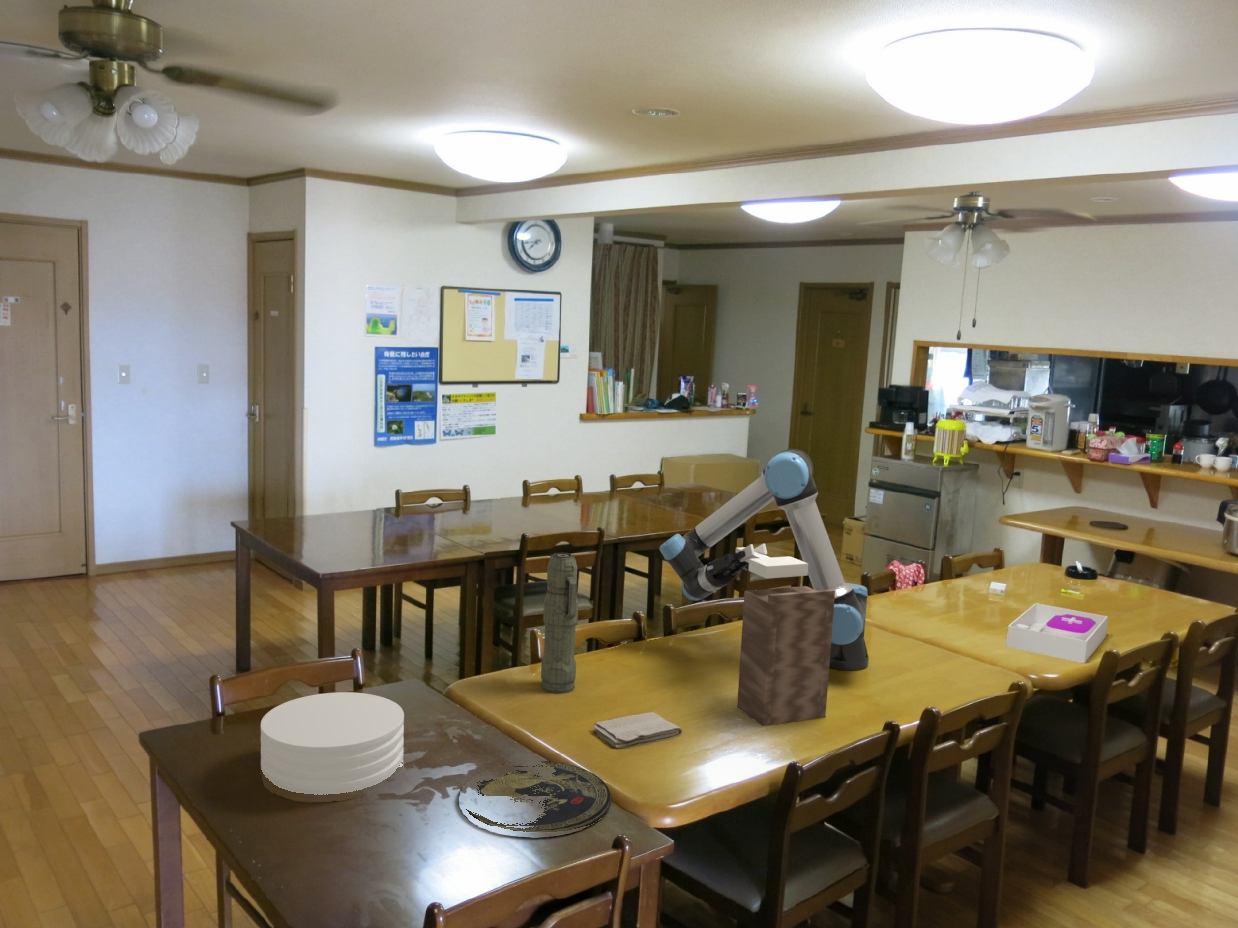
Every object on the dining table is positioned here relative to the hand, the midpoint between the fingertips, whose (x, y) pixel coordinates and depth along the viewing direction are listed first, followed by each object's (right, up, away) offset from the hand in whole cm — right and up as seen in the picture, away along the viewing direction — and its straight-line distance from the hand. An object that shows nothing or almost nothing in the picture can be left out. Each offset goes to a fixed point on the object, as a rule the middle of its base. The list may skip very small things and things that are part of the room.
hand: (758, 549), depth 249 cm
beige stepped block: (+1, -4, -2) cm, 5 cm away
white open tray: (+104, -35, +61) cm, 126 cm away
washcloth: (-32, -41, -24) cm, 57 cm away
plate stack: (-94, -42, -48) cm, 114 cm away
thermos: (-51, -36, +3) cm, 63 cm away
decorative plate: (-52, -45, -57) cm, 89 cm away
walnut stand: (+4, -40, -7) cm, 41 cm away
